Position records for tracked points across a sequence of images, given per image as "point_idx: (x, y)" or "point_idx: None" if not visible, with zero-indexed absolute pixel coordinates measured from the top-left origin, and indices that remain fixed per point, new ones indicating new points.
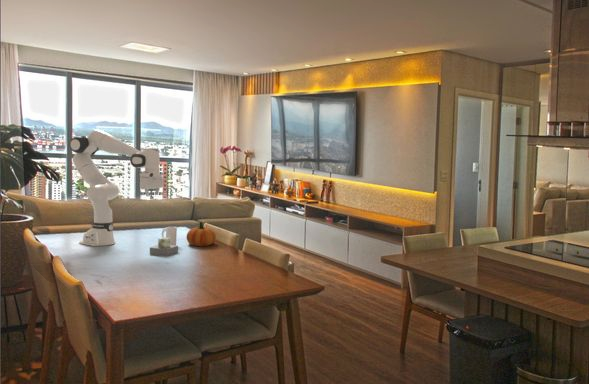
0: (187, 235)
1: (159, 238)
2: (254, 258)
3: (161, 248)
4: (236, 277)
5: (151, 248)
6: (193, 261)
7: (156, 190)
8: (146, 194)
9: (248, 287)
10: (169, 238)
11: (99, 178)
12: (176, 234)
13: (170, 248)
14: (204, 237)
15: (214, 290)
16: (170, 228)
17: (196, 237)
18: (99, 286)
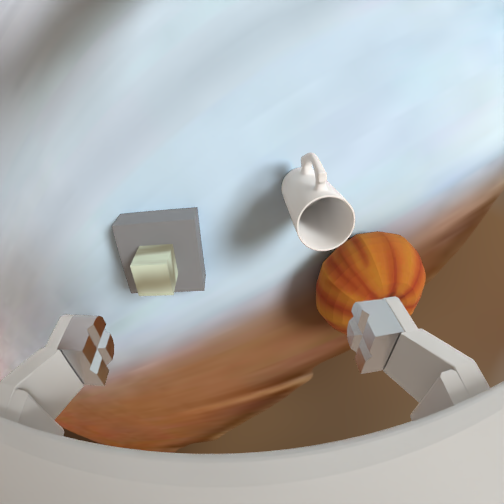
0: (344, 261)
1: (138, 266)
2: (246, 412)
3: (128, 270)
4: (114, 419)
5: (114, 232)
6: (139, 354)
7: (426, 364)
8: (57, 341)
9: (95, 430)
10: (169, 294)
11: None
12: (325, 228)
13: None
14: (329, 324)
15: None
16: (298, 235)
17: (320, 305)
18: None
